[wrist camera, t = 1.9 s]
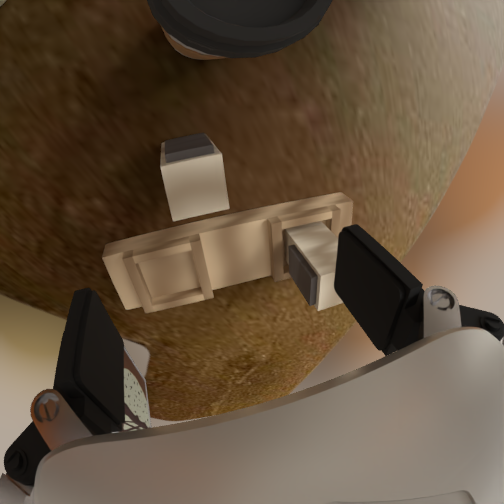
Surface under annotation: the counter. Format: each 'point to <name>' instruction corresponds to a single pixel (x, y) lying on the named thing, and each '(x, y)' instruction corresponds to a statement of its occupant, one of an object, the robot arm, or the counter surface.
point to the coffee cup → (235, 25)
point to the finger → (193, 176)
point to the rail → (233, 254)
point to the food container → (134, 397)
